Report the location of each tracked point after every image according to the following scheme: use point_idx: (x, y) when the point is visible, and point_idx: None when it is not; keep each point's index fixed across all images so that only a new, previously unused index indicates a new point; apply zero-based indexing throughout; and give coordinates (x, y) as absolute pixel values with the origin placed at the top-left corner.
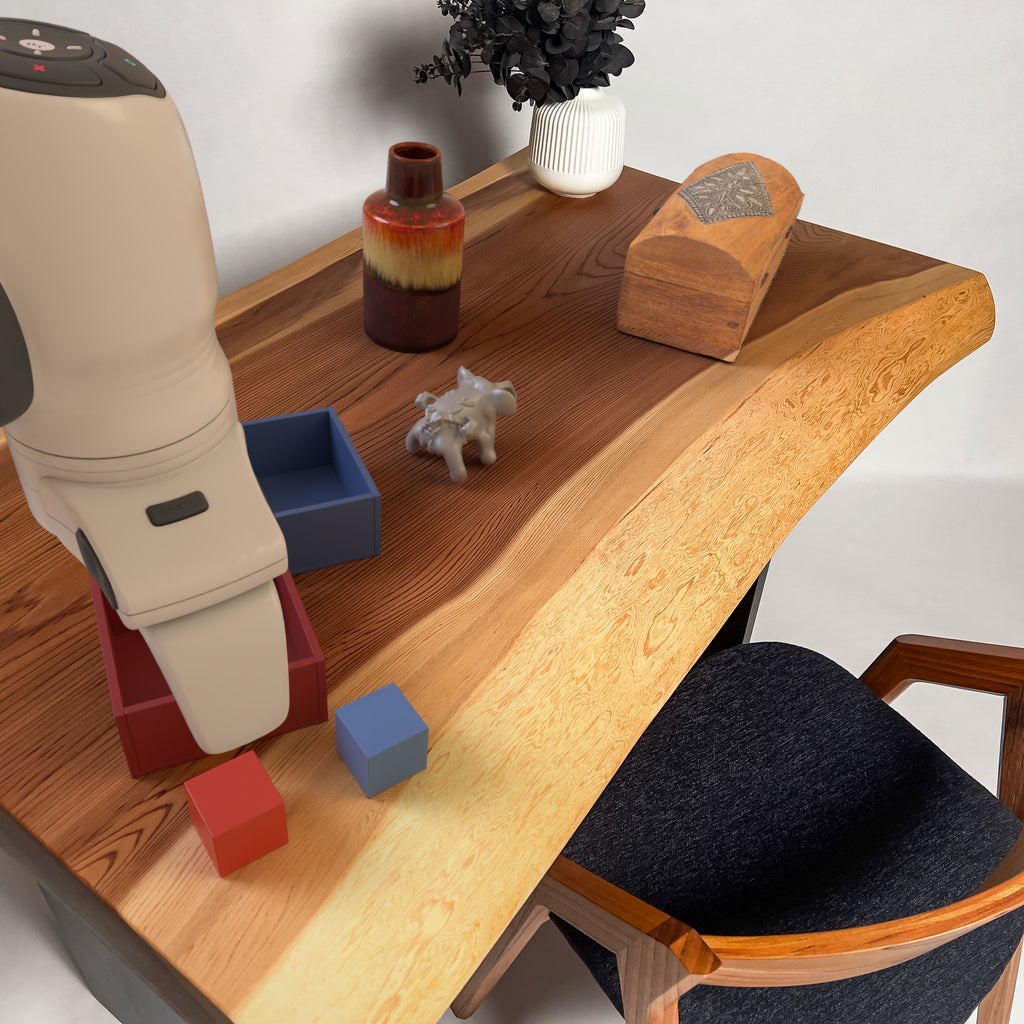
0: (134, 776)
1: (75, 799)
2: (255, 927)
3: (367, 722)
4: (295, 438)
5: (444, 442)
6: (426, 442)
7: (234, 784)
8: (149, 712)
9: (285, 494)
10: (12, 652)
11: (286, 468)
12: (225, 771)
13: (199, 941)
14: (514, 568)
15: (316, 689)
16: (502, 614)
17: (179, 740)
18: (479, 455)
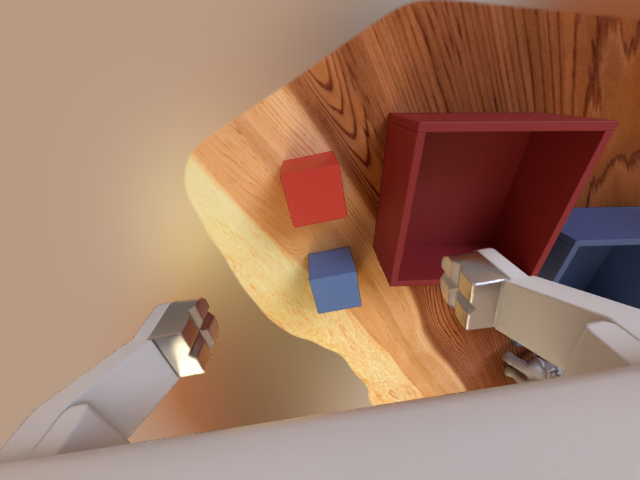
0: (389, 115)
1: (392, 62)
2: (243, 174)
3: (336, 286)
4: (622, 300)
5: (535, 372)
6: (545, 361)
7: (321, 199)
8: (410, 153)
9: (576, 267)
10: (586, 18)
11: (599, 275)
12: (335, 195)
13: (242, 138)
14: (424, 354)
15: (382, 261)
16: (397, 341)
17: (392, 161)
18: (514, 369)
